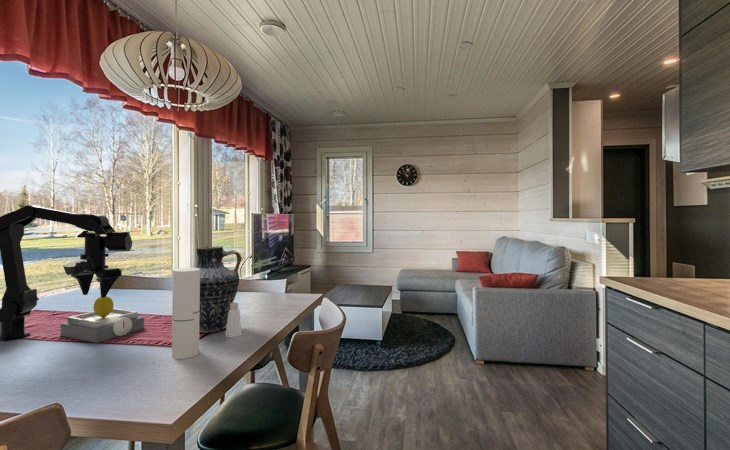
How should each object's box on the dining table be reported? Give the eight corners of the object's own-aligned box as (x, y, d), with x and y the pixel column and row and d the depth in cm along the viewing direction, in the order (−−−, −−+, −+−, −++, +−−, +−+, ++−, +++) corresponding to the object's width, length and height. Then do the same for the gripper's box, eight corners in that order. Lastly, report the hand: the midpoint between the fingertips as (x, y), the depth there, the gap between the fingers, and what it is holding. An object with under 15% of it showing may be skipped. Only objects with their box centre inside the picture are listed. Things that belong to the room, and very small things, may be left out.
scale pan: (67, 323, 117) (67, 317, 116) (110, 313, 130) (111, 307, 130) (95, 328, 112) (95, 322, 112) (137, 317, 125) (137, 311, 125)
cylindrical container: (204, 351, 105) (205, 268, 104) (185, 360, 98) (186, 272, 97) (186, 348, 107) (186, 267, 107) (166, 356, 100) (166, 270, 100)
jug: (187, 342, 112) (188, 249, 111) (172, 327, 126) (173, 245, 126) (249, 330, 125) (250, 247, 125) (229, 318, 140) (230, 243, 140)
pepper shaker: (244, 332, 122) (245, 301, 122) (237, 338, 117) (237, 305, 117) (230, 332, 123) (230, 301, 123) (222, 337, 117) (222, 304, 117)
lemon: (102, 320, 117) (102, 297, 117) (89, 319, 118) (89, 296, 118) (117, 316, 123) (117, 293, 123) (104, 315, 124) (104, 292, 124)
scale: (60, 335, 116) (60, 317, 116) (110, 322, 131) (110, 306, 131) (98, 343, 110) (98, 324, 110) (146, 328, 125) (146, 312, 125)
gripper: (50, 251, 115) (49, 298, 115) (87, 254, 108) (86, 304, 108) (87, 248, 125) (86, 292, 125) (123, 251, 119) (122, 297, 119)
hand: (94, 296), depth 119 cm, fingers open, 9 cm apart
